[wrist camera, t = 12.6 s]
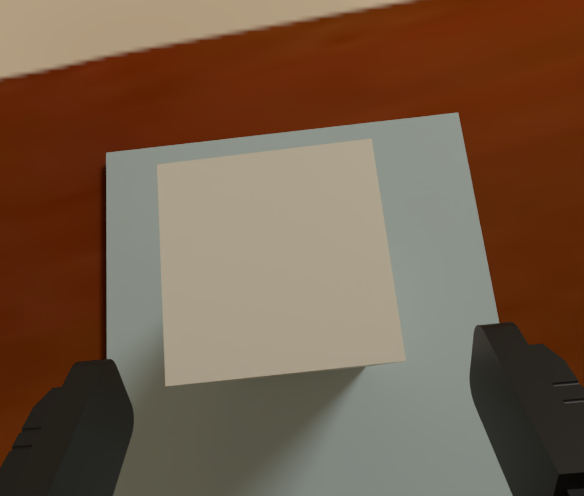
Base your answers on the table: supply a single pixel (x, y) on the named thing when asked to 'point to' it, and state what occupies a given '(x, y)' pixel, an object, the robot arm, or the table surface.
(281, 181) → the beige block
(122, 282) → the tile
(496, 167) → the table surface
